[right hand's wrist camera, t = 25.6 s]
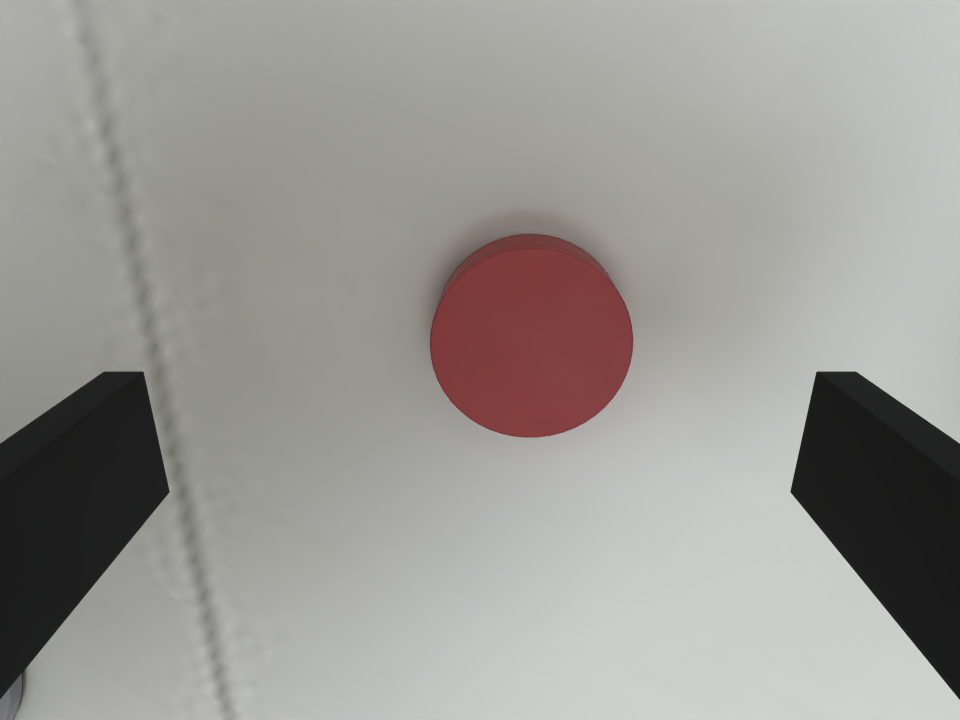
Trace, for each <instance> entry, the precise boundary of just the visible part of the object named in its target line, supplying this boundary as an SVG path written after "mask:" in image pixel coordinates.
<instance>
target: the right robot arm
mask: <svg viewBox="0 0 960 720" xmlns="http://www.w3.org/2000/svg"><path fill="white" fill-rule="evenodd" d="M168 493H169V487H168V483H167V478H166V473H165V469H164V464H163V460H162V455H161V450H160V446H159V441H158V437H157V432H156V427H155V423H154V418H153V414H152V409H151V404H150V400H149V395H148V391H147V386H146V381H145V377H144V372H103V373H101V374H100V375H99V376H97V377H96V378H94V379H93V380H91V381H90V382H89V383H87V384H86V385H84V386H83V387H81V388H80V389H78V390H77V391H76V392H74V393H73V394H71V395H70V396H68V397H67V398H65V399H64V400H63V401H61V402H60V403H58V404H57V405H55V406H54V407H52V408H51V409H50V410H48V411H47V412H45V413H44V414H42V415H41V416H39V417H38V418H37V419H35V420H34V421H32V422H31V423H29V424H28V425H26V426H25V427H24V428H22V429H21V430H19V431H18V432H16V433H15V434H14V435H12V436H11V437H9V438H8V439H6V440H5V441H3V442H2V443H1V444H0V720H13V719H14V717H15V714H16V712H17V710H18V707H19V703H20V699H21V691H22V672H23V671H24V670H25V669H26V667H27V666H28V665H29V664H30V663H31V661H32V660H33V659H34V658H35V656H36V655H37V654H38V653H39V651H40V650H41V649H42V648H43V647H44V645H45V644H46V643H47V642H48V640H49V639H50V638H51V637H52V636H53V634H54V633H55V632H56V631H57V629H58V628H59V627H60V626H61V624H62V623H63V622H64V621H65V620H66V618H67V617H68V616H69V615H70V613H71V612H72V611H73V610H74V609H75V607H76V606H77V605H78V604H79V602H80V601H81V600H82V599H83V597H84V596H85V595H86V594H87V593H88V591H89V590H90V589H91V588H92V586H93V585H94V584H95V583H96V582H97V580H98V579H99V578H100V577H101V575H102V574H103V573H104V572H105V570H106V569H107V568H108V567H109V566H110V564H111V563H112V562H113V561H114V559H115V558H116V557H117V556H118V555H119V553H120V552H121V551H122V550H123V548H124V547H125V546H126V545H127V544H128V542H129V541H130V540H131V539H132V537H133V536H134V535H135V534H136V532H137V531H138V530H139V529H140V528H141V526H142V525H143V524H144V523H145V521H146V520H147V519H148V518H149V517H150V515H151V514H152V513H153V512H154V510H155V509H156V508H157V507H158V505H159V504H160V503H161V502H162V501H163V499H164V498H165V497H166V496H167V494H168ZM791 493H792V494H793V496H794V497H795V498H796V499H797V501H798V502H799V503H800V504H801V505H802V507H803V508H804V509H805V510H806V512H807V513H808V514H809V515H810V517H811V518H812V519H813V520H814V521H815V523H816V524H817V525H818V526H819V528H820V529H821V530H822V531H823V532H824V534H825V535H826V536H827V537H828V539H829V540H830V541H831V542H832V544H833V545H834V546H835V547H836V548H837V550H838V551H839V552H840V553H841V555H842V556H843V557H844V558H845V559H846V561H847V562H848V563H849V564H850V566H851V567H852V568H853V569H854V570H855V572H856V573H857V574H858V575H859V577H860V578H861V579H862V580H863V582H864V583H865V584H866V585H867V586H868V588H869V589H870V590H871V591H872V593H873V594H874V595H875V596H876V597H877V599H878V600H879V601H880V602H881V604H882V605H883V606H884V607H885V609H886V610H887V611H888V612H889V613H890V615H891V616H892V617H893V618H894V620H895V621H896V622H897V623H898V624H899V626H900V627H901V628H902V629H903V631H904V632H905V633H906V634H907V636H908V637H909V638H910V639H911V640H912V642H913V643H914V644H915V645H916V647H917V648H918V649H919V650H920V651H921V653H922V654H923V655H924V656H925V658H926V659H927V660H928V661H929V663H930V664H931V665H932V666H933V667H934V669H935V670H936V671H937V672H938V674H939V675H940V676H941V677H942V678H943V680H944V681H945V682H946V683H947V685H948V686H949V687H950V688H951V689H952V691H953V692H954V693H955V694H956V696H957V697H958V698H959V699H960V444H959V443H958V442H957V441H955V440H954V439H952V438H951V437H949V436H948V435H946V434H945V433H944V432H942V431H941V430H939V429H938V428H936V427H935V426H934V425H932V424H931V423H929V422H928V421H926V420H925V419H923V418H922V417H921V416H919V415H918V414H916V413H915V412H913V411H912V410H910V409H909V408H908V407H906V406H905V405H903V404H902V403H900V402H899V401H897V400H896V399H895V398H893V397H892V396H890V395H889V394H887V393H886V392H884V391H883V390H882V389H880V388H879V387H877V386H876V385H874V384H873V383H871V382H870V381H869V380H867V379H866V378H864V377H863V376H861V375H860V374H859V373H857V372H816V377H815V381H814V386H813V391H812V395H811V400H810V404H809V409H808V414H807V418H806V423H805V427H804V432H803V437H802V441H801V446H800V450H799V455H798V460H797V464H796V469H795V473H794V478H793V483H792V487H791Z"/></svg>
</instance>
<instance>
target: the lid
mask: <svg viewBox="0 0 960 720" xmlns="http://www.w3.org/2000/svg"><path fill="white" fill-rule="evenodd" d="M430 351H431V359H432V364H433V369H434V371H435V374H436V377H437V380H438V382H439V383H440V385H441V387H442V389H443V391H444V392H445V394H446V395H447V397H448V398H449V399H450V401H451V402H452V403H453V404H454V405H455V406H456V407H457V408H458V409H459V410H460V411H461V412H462V413H463V414H465V415H466V416H467V417H468V418H470V419H471V420H473V421H474V422H476V423H477V424H479V425H481V426H483V427H485V428H487V429H489V430H492V431H495V432H498V433H501V434H506V435H510V436H516V437H543V436H551V435H555V434H559V433H563V432H565V431H568V430H571V429H573V428H575V427H577V426H579V425H581V424H583V423H585V422H587V421H588V420H589V419H591V418H592V417H594V416H595V415H596V414H598V413H599V412H600V411H601V410H602V409H603V408H604V407H605V406H606V405H607V404H608V403H609V402H610V401H611V400H612V399H613V397H614V396H615V394H616V393H617V391H618V390H619V389H620V387H621V385H622V383H623V381H624V379H625V377H626V375H627V372H628V369H629V366H630V362H631V357H632V351H633V333H632V325H631V321H630V316H629V313H628V311H627V308H626V305H625V303H624V301H623V299H622V298H621V296H620V294H619V292H618V291H617V289H616V287H615V286H614V284H613V282H612V281H611V279H610V277H609V276H608V274H607V273H606V272H605V270H604V269H603V268H602V266H601V265H600V264H599V263H598V262H597V261H596V260H595V259H594V258H593V257H592V256H591V255H589V254H588V253H586V252H585V251H584V250H582V249H581V248H579V247H577V246H575V245H574V244H572V243H570V242H567V241H564V240H562V239H559V238H555V237H551V236H546V235H536V234H527V235H516V236H510V237H506V238H503V239H500V240H496V241H494V242H492V243H490V244H487V245H485V246H484V247H482V248H480V249H479V250H477V251H476V252H474V253H473V254H472V255H470V256H469V257H468V258H467V259H466V260H464V262H463V263H462V264H461V265H460V266H459V267H458V268H457V269H456V270H455V272H454V273H453V275H452V276H451V278H450V279H449V281H448V283H447V285H446V287H445V289H444V291H443V294H442V297H441V300H440V302H439V305H438V308H437V311H436V313H435V316H434V319H433V324H432V328H431V336H430Z"/></svg>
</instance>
